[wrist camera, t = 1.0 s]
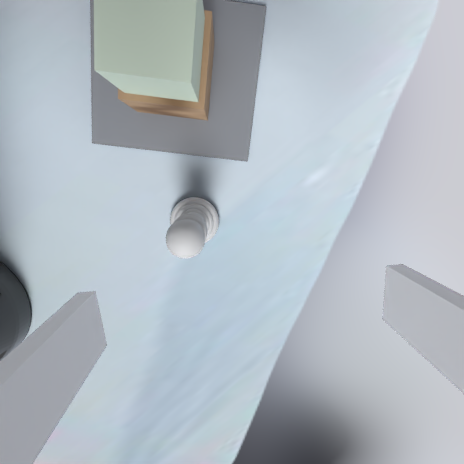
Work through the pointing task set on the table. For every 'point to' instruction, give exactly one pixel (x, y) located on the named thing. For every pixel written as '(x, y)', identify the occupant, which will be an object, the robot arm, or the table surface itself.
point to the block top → (150, 46)
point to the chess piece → (191, 227)
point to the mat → (221, 95)
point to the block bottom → (180, 106)
